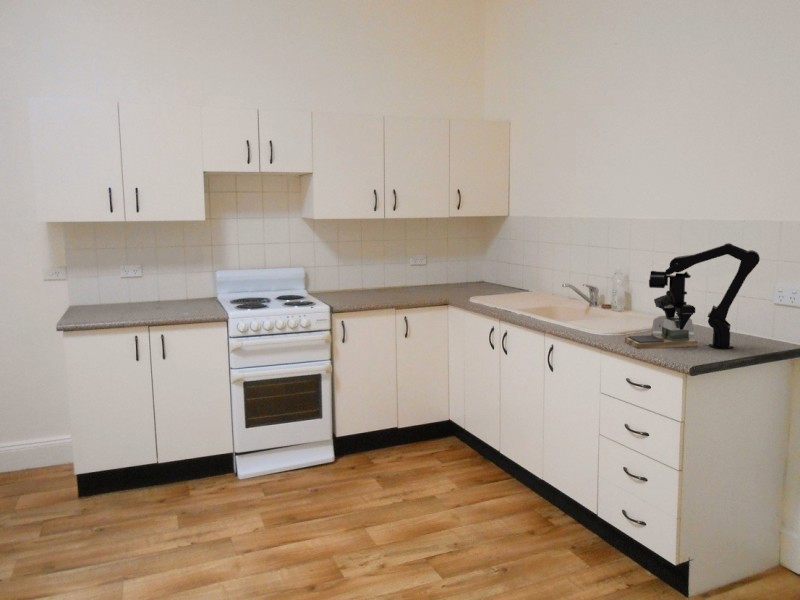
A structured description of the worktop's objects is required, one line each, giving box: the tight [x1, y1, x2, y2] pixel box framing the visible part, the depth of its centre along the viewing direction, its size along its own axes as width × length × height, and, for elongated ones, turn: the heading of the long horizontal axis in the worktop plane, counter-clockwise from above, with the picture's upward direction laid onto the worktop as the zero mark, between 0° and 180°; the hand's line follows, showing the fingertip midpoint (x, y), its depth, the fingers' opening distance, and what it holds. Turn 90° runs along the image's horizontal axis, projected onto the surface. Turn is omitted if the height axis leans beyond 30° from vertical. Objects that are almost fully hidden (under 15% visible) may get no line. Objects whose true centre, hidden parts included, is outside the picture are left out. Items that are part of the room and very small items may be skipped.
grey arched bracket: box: [651, 314, 695, 340], centre depth 269 cm, size 17×5×10 cm, turn 75°
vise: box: [624, 327, 698, 350], centre depth 256 cm, size 12×24×9 cm, turn 94°
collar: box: [664, 317, 688, 331], centre depth 255 cm, size 6×6×4 cm
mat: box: [628, 334, 664, 343], centre depth 255 cm, size 10×10×1 cm
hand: (675, 327), depth 256 cm, fingers open, 9 cm apart
